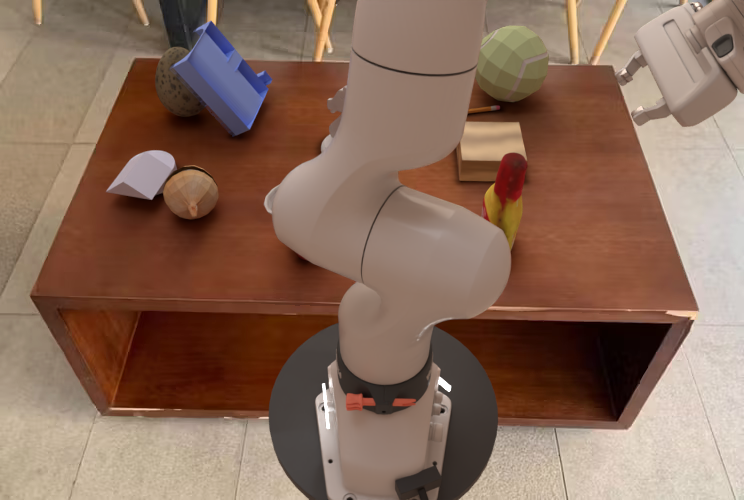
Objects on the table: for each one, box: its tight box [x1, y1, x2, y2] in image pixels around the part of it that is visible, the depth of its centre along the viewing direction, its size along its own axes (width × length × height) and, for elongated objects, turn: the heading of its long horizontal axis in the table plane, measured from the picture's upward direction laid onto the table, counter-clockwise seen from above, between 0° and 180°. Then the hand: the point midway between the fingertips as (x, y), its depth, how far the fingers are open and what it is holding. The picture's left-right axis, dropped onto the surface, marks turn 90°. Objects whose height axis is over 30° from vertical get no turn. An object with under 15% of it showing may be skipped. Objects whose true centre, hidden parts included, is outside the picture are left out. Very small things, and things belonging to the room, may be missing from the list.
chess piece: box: [320, 84, 347, 154], centre depth 129 cm, size 10×10×15 cm
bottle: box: [480, 152, 529, 252], centre depth 109 cm, size 12×6×20 cm, turn 171°
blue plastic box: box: [171, 20, 273, 137], centre depth 136 cm, size 18×16×7 cm
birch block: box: [455, 121, 528, 182], centre depth 130 cm, size 12×12×5 cm
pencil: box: [468, 105, 501, 114], centre depth 142 cm, size 1×1×19 cm
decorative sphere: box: [475, 24, 550, 103], centre depth 141 cm, size 15×15×15 cm
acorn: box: [161, 164, 220, 220], centre depth 118 cm, size 9×9×15 cm
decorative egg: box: [154, 46, 208, 118], centre depth 137 cm, size 11×11×15 cm
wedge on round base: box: [105, 149, 178, 201], centre depth 124 cm, size 9×7×13 cm
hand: (625, 99), depth 94 cm, fingers open, 8 cm apart
